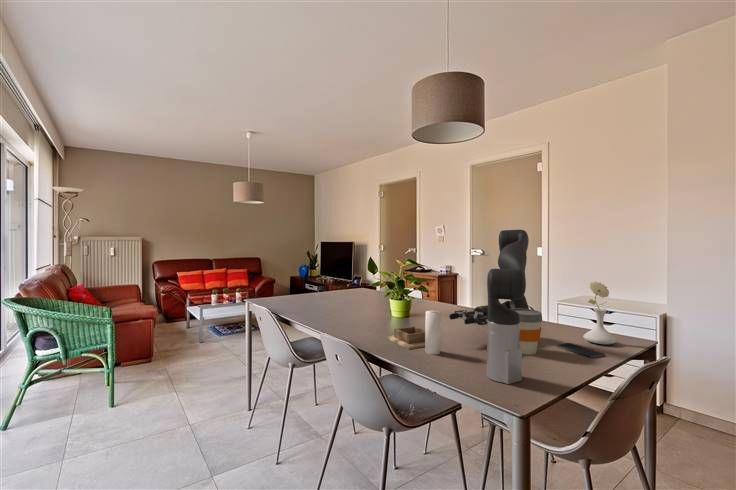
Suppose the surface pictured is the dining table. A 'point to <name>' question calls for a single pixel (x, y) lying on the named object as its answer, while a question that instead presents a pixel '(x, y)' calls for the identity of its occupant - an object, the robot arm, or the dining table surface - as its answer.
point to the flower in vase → (599, 317)
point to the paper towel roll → (432, 332)
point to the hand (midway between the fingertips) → (457, 319)
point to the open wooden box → (409, 337)
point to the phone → (580, 350)
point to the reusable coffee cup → (529, 330)
